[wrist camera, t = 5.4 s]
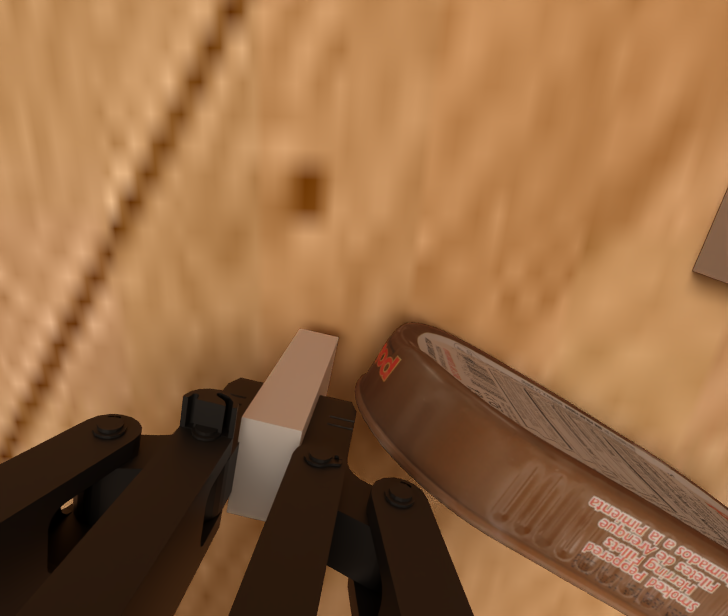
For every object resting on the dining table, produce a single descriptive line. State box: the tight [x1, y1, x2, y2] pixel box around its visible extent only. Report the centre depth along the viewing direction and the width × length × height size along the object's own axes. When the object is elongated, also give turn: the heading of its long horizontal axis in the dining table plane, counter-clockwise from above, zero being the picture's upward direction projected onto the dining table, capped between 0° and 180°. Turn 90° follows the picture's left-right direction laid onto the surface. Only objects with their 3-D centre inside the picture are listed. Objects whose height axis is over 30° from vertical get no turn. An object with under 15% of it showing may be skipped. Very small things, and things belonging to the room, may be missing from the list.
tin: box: [355, 323, 728, 616], centre depth 15 cm, size 15×3×8 cm, turn 59°
